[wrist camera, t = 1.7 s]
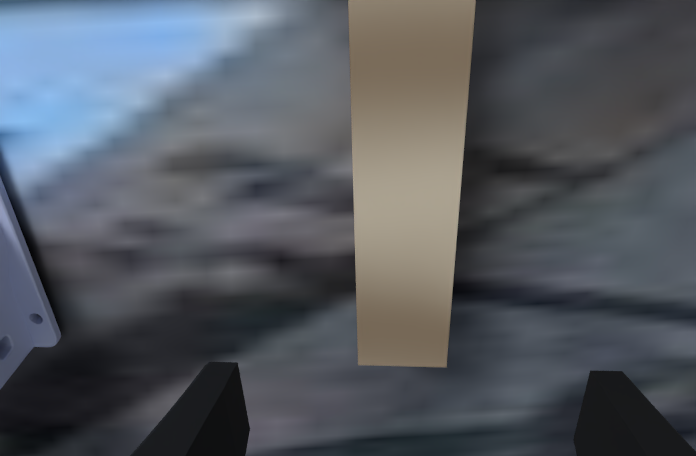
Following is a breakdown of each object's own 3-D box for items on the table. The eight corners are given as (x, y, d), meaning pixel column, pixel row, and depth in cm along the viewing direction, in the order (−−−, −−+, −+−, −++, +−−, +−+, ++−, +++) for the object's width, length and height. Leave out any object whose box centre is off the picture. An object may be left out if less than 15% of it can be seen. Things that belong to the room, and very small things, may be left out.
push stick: (435, 266, 20) (446, 367, 16) (365, 265, 21) (358, 365, 16) (473, -381, 12) (518, -529, 8) (354, -372, 12) (334, -513, 8)
